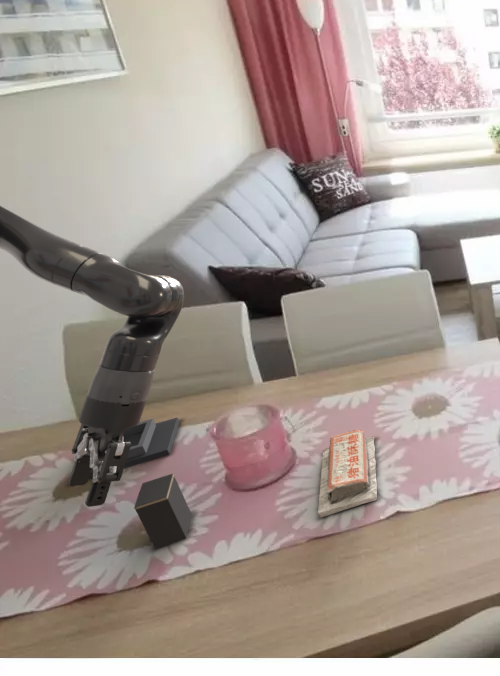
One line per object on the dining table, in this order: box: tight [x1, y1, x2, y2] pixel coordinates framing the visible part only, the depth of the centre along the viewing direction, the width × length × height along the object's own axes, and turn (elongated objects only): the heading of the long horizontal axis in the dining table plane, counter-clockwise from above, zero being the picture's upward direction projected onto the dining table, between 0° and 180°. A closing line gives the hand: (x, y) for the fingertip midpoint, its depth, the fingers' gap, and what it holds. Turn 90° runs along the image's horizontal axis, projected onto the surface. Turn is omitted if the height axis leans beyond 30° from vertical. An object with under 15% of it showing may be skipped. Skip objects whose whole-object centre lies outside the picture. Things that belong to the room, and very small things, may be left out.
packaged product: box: [317, 429, 378, 518], centre depth 105 cm, size 18×5×10 cm
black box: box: [133, 473, 193, 550], centre depth 93 cm, size 4×6×10 cm
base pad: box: [68, 417, 180, 480], centre depth 114 cm, size 16×12×4 cm
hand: (85, 494), depth 85 cm, fingers open, 8 cm apart
